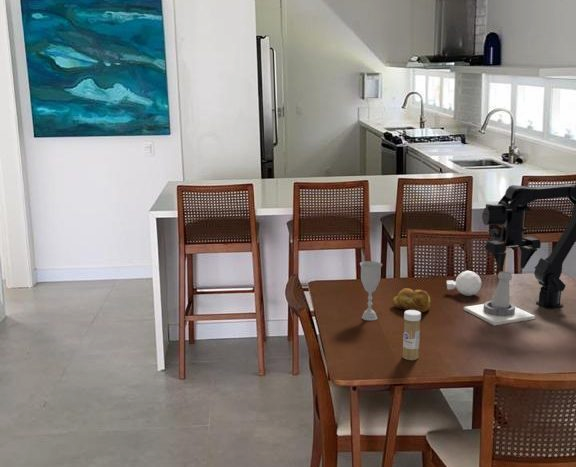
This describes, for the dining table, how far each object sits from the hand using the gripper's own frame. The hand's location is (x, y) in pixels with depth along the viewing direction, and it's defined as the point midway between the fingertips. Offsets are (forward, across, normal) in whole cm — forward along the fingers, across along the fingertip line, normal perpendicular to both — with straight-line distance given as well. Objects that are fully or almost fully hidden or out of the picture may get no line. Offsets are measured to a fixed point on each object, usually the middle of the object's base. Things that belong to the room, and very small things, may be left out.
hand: (511, 269), depth 241 cm
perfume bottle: (+13, +6, -17) cm, 22 cm away
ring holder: (+13, +8, +5) cm, 16 cm away
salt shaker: (+12, +8, +5) cm, 15 cm away
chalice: (+13, +49, -8) cm, 51 cm away
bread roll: (+13, +31, -11) cm, 36 cm away
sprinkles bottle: (+13, +54, +25) cm, 61 cm away
